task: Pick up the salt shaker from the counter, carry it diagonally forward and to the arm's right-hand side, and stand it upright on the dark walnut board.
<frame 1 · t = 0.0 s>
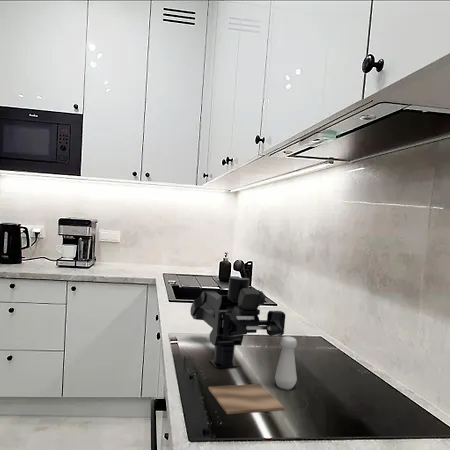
hand: (264, 331, 100), 17 cm above the countertop, tool horizontal, fingers open, 9 cm apart
salt shaker: (284, 387, 111), on the countertop
walnut board: (244, 399, 100), on the countertop
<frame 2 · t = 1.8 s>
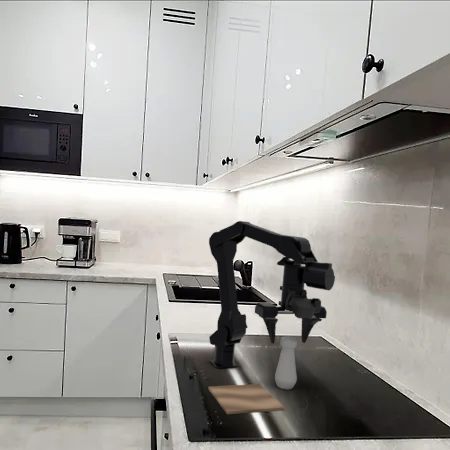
hand: (288, 342, 111), 12 cm above the countertop, tool pointing down, fingers open, 9 cm apart
nothing on the countertop moved.
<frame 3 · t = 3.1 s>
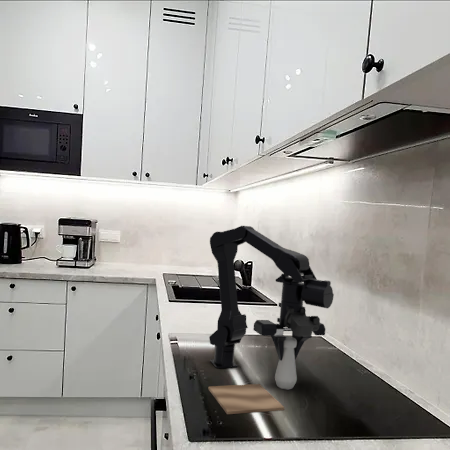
hand: (287, 360, 111), 7 cm above the countertop, tool pointing down, fingers closed on salt shaker, 3 cm apart
salt shaker: (284, 387, 111), on the countertop, touching gripper
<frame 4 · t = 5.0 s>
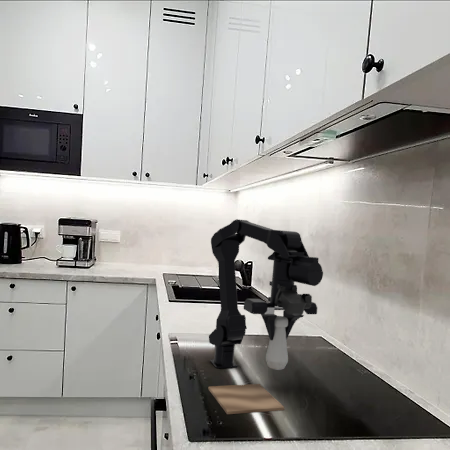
hand: (278, 339, 108), 13 cm above the countertop, tool pointing down, fingers closed on salt shaker, 3 cm apart
salt shaker: (276, 367, 108), point 6 cm above the countertop, touching gripper
when the fingers open (8 cm above the countertop, at t = 7.1 s): salt shaker stays where it is, resting on walnut board.
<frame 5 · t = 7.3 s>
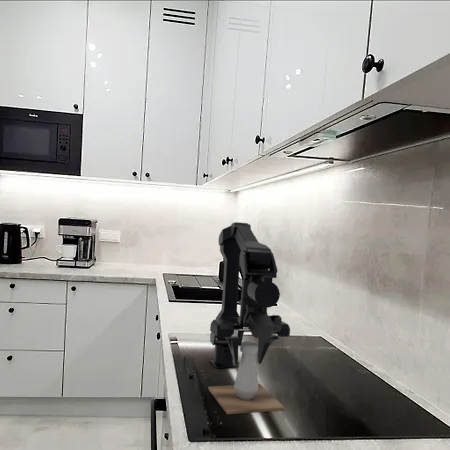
hand: (247, 363, 100), 8 cm above the countertop, tool pointing down, fingers open, 6 cm apart
salt shaker: (245, 397, 100), resting on walnut board
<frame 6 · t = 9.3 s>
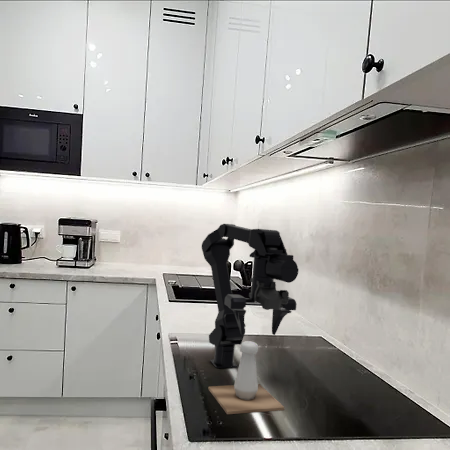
hand: (257, 334, 112), 13 cm above the countertop, tool pointing down, fingers open, 9 cm apart
nothing on the countertop moved.
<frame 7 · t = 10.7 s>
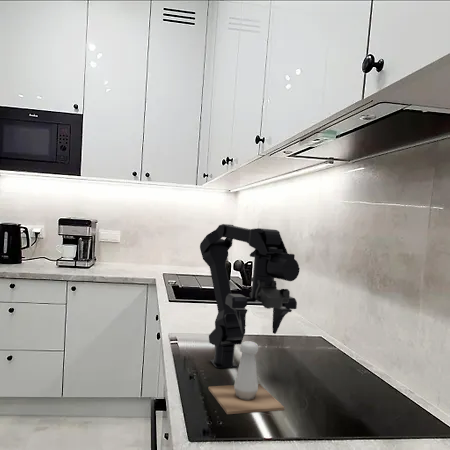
hand: (258, 333, 112), 13 cm above the countertop, tool pointing down, fingers open, 9 cm apart
nothing on the countertop moved.
at the end: salt shaker inside the target area on the walnut board (0.1 cm from its centre), point 0.4 cm above the walnut board's base; salt shaker tilted 0°; the gripper is holding nothing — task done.
